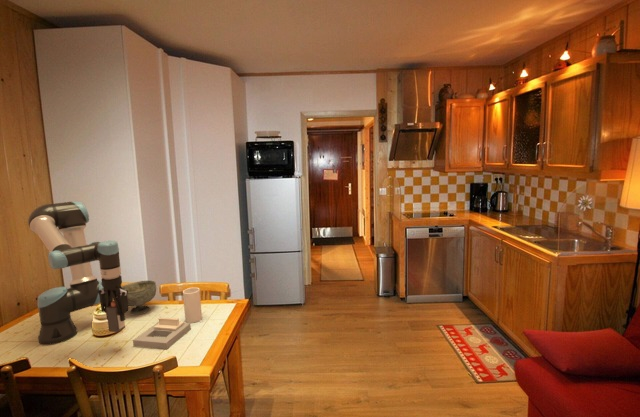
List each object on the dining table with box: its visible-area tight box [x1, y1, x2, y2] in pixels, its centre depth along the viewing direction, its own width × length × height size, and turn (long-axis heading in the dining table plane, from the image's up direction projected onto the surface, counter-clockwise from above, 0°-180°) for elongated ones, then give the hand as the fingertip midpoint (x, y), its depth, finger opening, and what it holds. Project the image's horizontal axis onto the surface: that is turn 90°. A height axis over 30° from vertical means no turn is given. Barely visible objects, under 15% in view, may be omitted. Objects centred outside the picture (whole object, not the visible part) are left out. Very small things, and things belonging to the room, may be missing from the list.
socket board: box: [132, 321, 192, 350], centre depth 167 cm, size 17×19×3 cm
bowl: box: [121, 280, 157, 316], centre depth 197 cm, size 20×19×15 cm
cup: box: [182, 287, 203, 324], centre depth 184 cm, size 8×8×16 cm
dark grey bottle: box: [106, 300, 126, 333], centre depth 156 cm, size 4×4×13 cm
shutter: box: [153, 316, 185, 330], centre depth 172 cm, size 12×7×4 cm, turn 78°
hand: (116, 326), depth 157 cm, fingers closed on dark grey bottle, 4 cm apart
